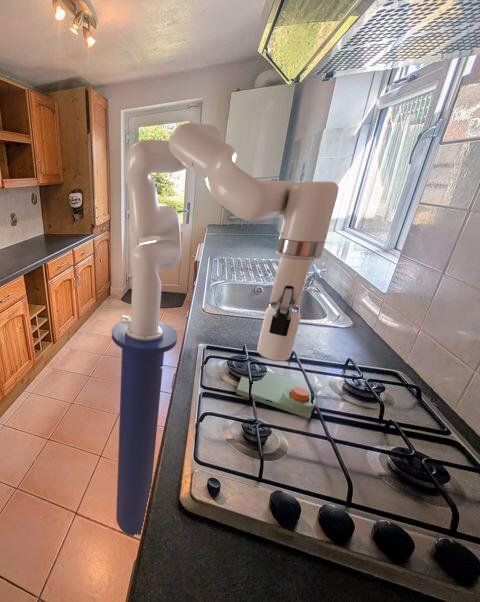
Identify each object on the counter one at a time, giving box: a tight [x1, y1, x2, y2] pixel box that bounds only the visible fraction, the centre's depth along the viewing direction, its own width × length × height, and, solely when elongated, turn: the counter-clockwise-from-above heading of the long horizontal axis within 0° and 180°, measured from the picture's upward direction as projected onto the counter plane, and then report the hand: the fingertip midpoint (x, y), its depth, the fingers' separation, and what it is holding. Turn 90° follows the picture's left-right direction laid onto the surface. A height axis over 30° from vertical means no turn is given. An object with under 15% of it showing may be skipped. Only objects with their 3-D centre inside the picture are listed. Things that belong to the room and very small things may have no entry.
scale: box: [235, 370, 317, 420], centre depth 70 cm, size 14×12×3 cm
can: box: [256, 301, 302, 362], centre depth 67 cm, size 6×6×12 cm
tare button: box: [291, 387, 309, 402], centre depth 64 cm, size 3×3×2 cm
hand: (279, 327), depth 67 cm, fingers closed on can, 6 cm apart
